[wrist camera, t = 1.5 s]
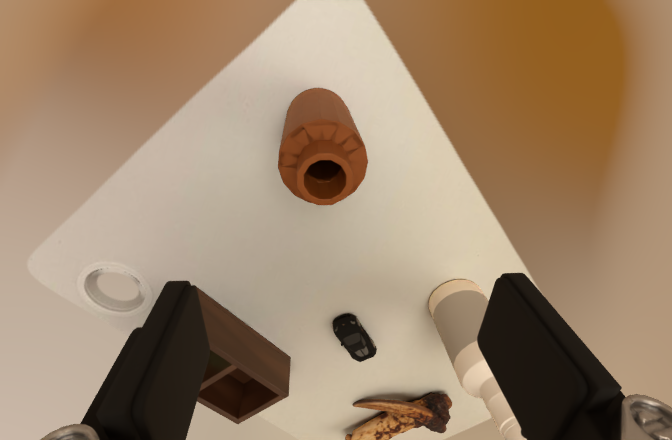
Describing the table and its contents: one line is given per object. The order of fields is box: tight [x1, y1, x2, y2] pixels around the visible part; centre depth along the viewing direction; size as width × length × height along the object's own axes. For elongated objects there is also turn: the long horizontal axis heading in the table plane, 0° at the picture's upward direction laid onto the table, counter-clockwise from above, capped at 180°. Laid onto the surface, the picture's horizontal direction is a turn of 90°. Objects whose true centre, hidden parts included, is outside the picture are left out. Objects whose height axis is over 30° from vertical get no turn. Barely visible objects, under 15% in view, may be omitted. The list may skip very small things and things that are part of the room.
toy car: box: [333, 314, 377, 362], centre depth 45 cm, size 8×3×2 cm, turn 27°
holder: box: [196, 287, 290, 424], centre depth 42 cm, size 9×16×6 cm, turn 37°
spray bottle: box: [429, 280, 527, 440], centre depth 36 cm, size 7×7×18 cm
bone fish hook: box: [345, 393, 452, 440], centre depth 52 cm, size 9×5×18 cm
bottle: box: [278, 88, 368, 205], centre depth 26 cm, size 6×6×14 cm
